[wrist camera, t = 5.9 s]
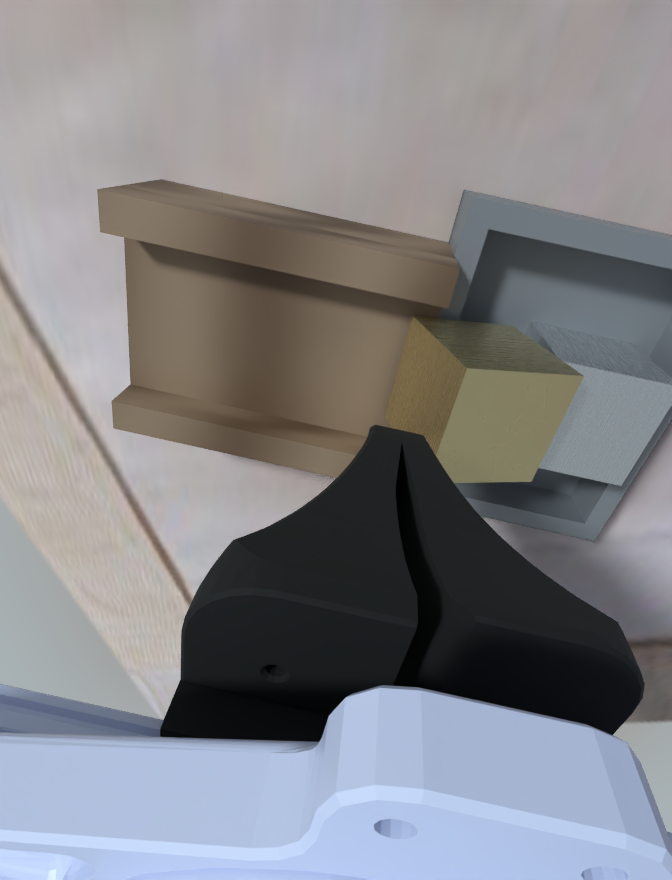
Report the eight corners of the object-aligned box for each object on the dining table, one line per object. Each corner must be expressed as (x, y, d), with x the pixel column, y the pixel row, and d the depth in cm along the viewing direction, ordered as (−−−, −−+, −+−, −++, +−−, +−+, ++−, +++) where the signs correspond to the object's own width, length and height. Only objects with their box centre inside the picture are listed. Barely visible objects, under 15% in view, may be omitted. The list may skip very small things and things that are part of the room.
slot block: (448, 242, 18) (460, 268, 15) (393, 431, 23) (391, 489, 19) (161, 179, 18) (97, 189, 15) (162, 380, 23) (113, 428, 19)
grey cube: (530, 321, 19) (632, 343, 19) (494, 410, 21) (585, 430, 21) (559, 360, 16) (683, 387, 16) (512, 462, 18) (621, 485, 18)
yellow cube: (512, 325, 18) (583, 376, 15) (475, 419, 20) (531, 481, 17) (412, 315, 17) (467, 368, 13) (384, 417, 19) (426, 483, 15)
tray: (726, 247, 17) (771, 262, 15) (577, 505, 24) (594, 541, 22) (464, 189, 17) (472, 196, 15) (384, 462, 24) (382, 494, 22)
